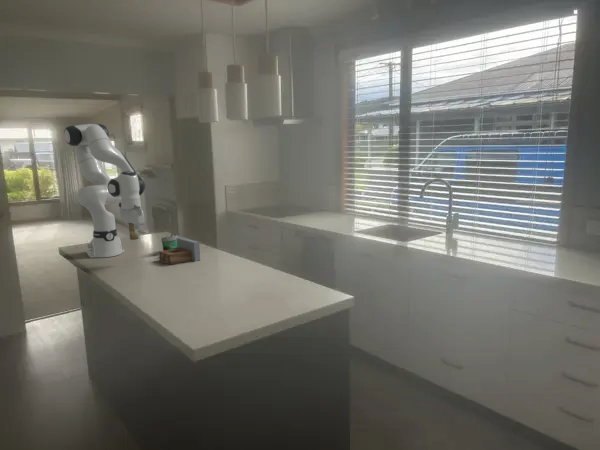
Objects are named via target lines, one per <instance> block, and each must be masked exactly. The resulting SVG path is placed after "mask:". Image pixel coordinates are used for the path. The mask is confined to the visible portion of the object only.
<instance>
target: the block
mask: <svg viewBox="0 0 600 450" xmlns="http://www.w3.org/2000/svg"><path fill="white" fill-rule="evenodd" d="M158 253H159V254H158V256H159V261H160V262H163V263H164V264H168V265H170V266H173V265H177V264H183V263H186V262H192V251H190V250H187V249H183V248H174V249H169V250H164V251H163V250H160V251H159V252H158Z"/></svg>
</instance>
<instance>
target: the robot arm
mask: <svg viewBox="0 0 600 450" xmlns="http://www.w3.org/2000/svg"><path fill="white" fill-rule="evenodd" d="M109 136H110V135H109V130H108V128H107V126H106V125H104V124H101V123H85V124H76V125H68V126H66V127H65V129H64V131H63V137H64V139H65V141H66V143H67V144H68V145H69V146H73V147H75V153H76V155H75V156H76V158H77V161H78V165H79V166H78V167H79V168H80V170H81V174H82V176H83V178H84V180H86V181H88V182H90V183H92V184H93V185H87V186H84V187H82V188H81V187H80V188H79V189H78V191H77V194H76V199H77V201H78V203H79V204H80V205H81V206H83V207H85V209H87V211H89V214H90V216H91V218H92V224H93V232H92V239H91V241H89V244H87V248H88V249H89V250H86V251H85V253H86V255H87V257H89V258H90V259H91V258H94V259H95V258H110V257H115V256H119V255H122V253H125V249H123V248H122V243H121V242H122V241H121V237H119V236H118V229H117V227H116V219H115V217H116V216H115V214H114V213H112V212H110V211H108V210H107V209H106V207H105V205H111V204H116V203H118V204H117V205H118V208H119V214H120V219H121V221H122V222H125V223H126V224H127V227H128V228H129V223H132V224H134V229H133V230H134V232H135V233H138V234H139V227H140V226H143V225H145V213H144V211H143V209H142V202H141V195H142V194H143V193H144V192H145V189H146V183H145V181H144V180H143V178H142V177H141V176H140V175H139V174H138V173H137V172H136V170H135V168H134V167H133V166H132V164H131V162H130V161H129V159H127V157H126V155H125V154H124V153H123V152H121V151H120V150H118V149H117V148H116V147H115V146H114V145H113V143H112V141H111V139H110V137H109ZM103 163H106V164H110V165H113V166H115V167H118V168H119V169H120V171H121V172H120V174H119V175H117V176H115V177H114V178H111V177H110V176H109V175H108V174H107V172H106V170H105V168H104V166H103Z"/></svg>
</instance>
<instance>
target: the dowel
mask: <svg viewBox="0 0 600 450" xmlns="http://www.w3.org/2000/svg"><path fill="white" fill-rule="evenodd" d="M133 229H134V224H132V223H129V227H128V232H129V239H130V240H132V241H134V240H138V239H139V232H138V233H135V232H134V230H133ZM130 240H129V241H130Z"/></svg>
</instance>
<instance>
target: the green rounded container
mask: <svg viewBox="0 0 600 450" xmlns="http://www.w3.org/2000/svg"><path fill="white" fill-rule="evenodd" d="M177 238H179V235H178V234H177V233H171V235H167V236H165V237H161V243H162V251H164V250H169V249H174V248H177Z"/></svg>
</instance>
